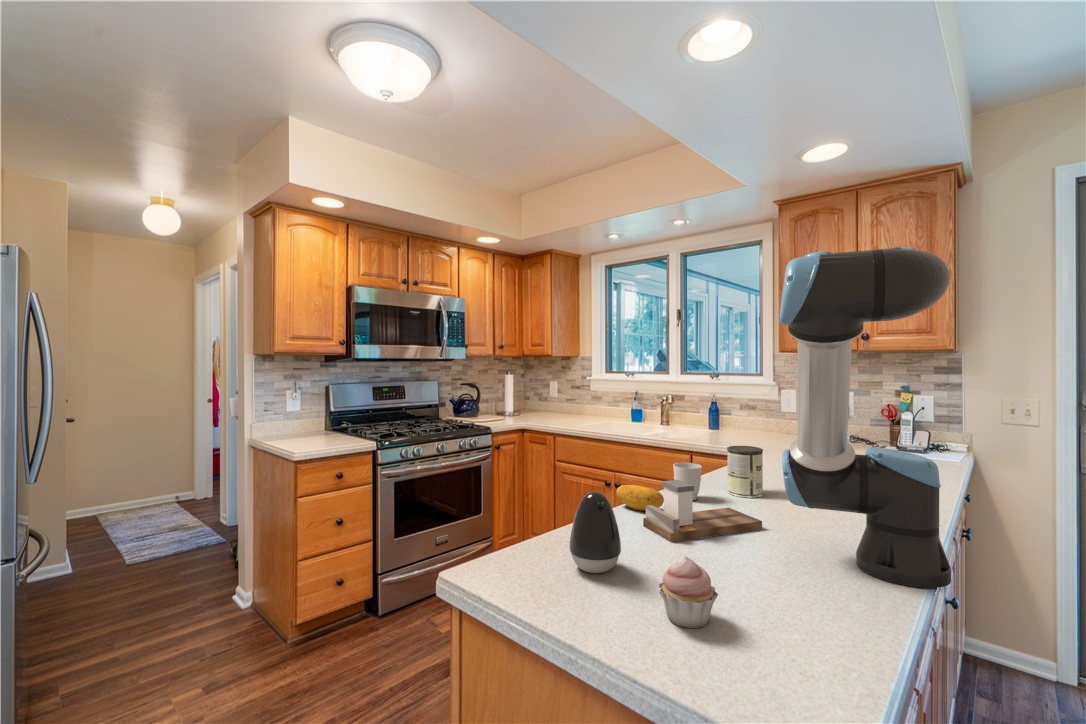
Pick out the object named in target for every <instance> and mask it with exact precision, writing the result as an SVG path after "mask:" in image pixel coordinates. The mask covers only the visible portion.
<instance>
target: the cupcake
mask: <svg viewBox="0 0 1086 724" xmlns="http://www.w3.org/2000/svg"><path fill="white" fill-rule="evenodd" d="M657 586H658V588H659V589H658V592H659V594H660V596H661V598H662V600H663V604H664V608H665V609H664V610H665V612H666V613H665V614H666V616H667V618H668V619H669V621H670V622H671V623H672V624H674V625H676V626H679V627H682V628H687V629H699V628H704V626H706V625H707V623H709V619H710V616H711V612H712V608H713V606H714V603H715V601H716V599H717V598H718V596H719V593H718V592H716V589H717V587H715V586H713V585H712V580H711V577H710V575H709V573H708V572H707V571H706V570H705V569H704V568H703V567H702V566H701V565H699V564H697V563H696V561H694V560H693V559H691V557H688V556H687V555H684V557H683V560H682V561H680V562H679V561H678V562H677V563H673V564H671V565H670V566H669V567H668V570H666V571H665V572H664V573H663V575H662V582H659V583H657Z"/></svg>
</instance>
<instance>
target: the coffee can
mask: <svg viewBox="0 0 1086 724" xmlns="http://www.w3.org/2000/svg"><path fill="white" fill-rule="evenodd" d="M726 451H727V494H728V493H729V494H728V495H730V494H731V495H730V496H733V495H734V496H733V497H736V496H738V497H737V498H742V497H746V498H745V499H758V498H757V497H759V498H761V497H762V498H763V496H764V493H763V491H764V490H763V487H764V485H763V481H764V480H763V479H764V477H763V476H764V475H763V471H764V470H763V466H764V465H763V453H764V449H763V448H761V447H758V446H751V445H731V446H727V447H726Z"/></svg>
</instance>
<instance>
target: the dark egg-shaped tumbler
mask: <svg viewBox="0 0 1086 724" xmlns="http://www.w3.org/2000/svg"><path fill="white" fill-rule="evenodd" d="M569 552H570V554H571V558H572V560H573V562H574V564H575V565H576V566H577V567H578V568H579V569H580V570H582V571H584V572H587V573H590V574H602V573H606V572H608V571H610V570H612V569H613V567H615V566H616V564H617V562H618V561H619V557H620V555H621V552H622V543H621V536H620V531H619V526H618V522H617V518H616V515H615V511H614V509H613V507H612V504H611V503H610V500H609V499H608V497H607V496H606V495H605V494H604V493H602V492H599V491H590V492H588V493H586V494H585V495H584V496H583V497H582V498H581V500H580V501H579V504H578V506H577V509H576V512H575V514H574V519H573V522H572V527H571V531H570V537H569Z"/></svg>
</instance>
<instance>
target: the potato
mask: <svg viewBox="0 0 1086 724" xmlns="http://www.w3.org/2000/svg"><path fill="white" fill-rule="evenodd" d="M615 492H616V496H617V497H618V499H619V501H620V502H621V503H623V504H624V505H626V506H628V507H630V508H631V509H633V510H634V511H635V510H636V511H640V512H641V511H642V512H646V506H647V505H652V506H654V507H656V508H658V509H660V508H661V507H662V506H663V505H664V494H662V493H661V492H660V491H658V490H656V489H654V488H651V487H648V486H647V487H646V486H642V485H640V484H639V485H636V484H635V485H634V484H623V485H620V486H618V487H617V489H616V491H615Z"/></svg>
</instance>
